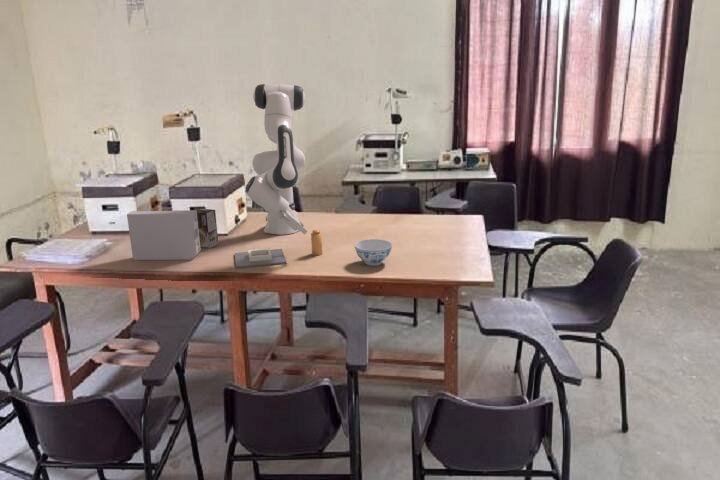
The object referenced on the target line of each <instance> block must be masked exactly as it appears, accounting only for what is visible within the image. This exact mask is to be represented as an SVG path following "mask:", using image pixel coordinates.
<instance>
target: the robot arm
mask: <svg viewBox="0 0 720 480" xmlns="http://www.w3.org/2000/svg"><path fill="white" fill-rule="evenodd" d="M252 94H253V96H252V97H253V102H254V104H255V106H256V107H257V108H258V109H262V110H264V122H263V125H264V131H265V134H266V135H267V137H268V139H269V141H270V142H272V143H274V144H275V145H277V150H267V151H262V152H260V153H257V154H255V155H254V156H253V158H252V163H251V164H252V168H253V171H255V173H256V174H257V175H256V176H255V175H253V176H252V177H251V178H250V179H249V181H248V182H247V184H246V186H245V193H246V195H247V196H248V197H249V198H250V199H251V201H253V202H254V203H255V204H257V205H258V206H259V207H261V208H263V209H264V211H265V212H266V213H267V216H265V222H266V225H265V227H264V229H263V233H264V234H265V233H266V234H271V235H277V236H278V235H282V236H283V235H290V234H295V233H297V232H301V233H302V234H303V235H306V234H307V233H308V230H307V229H306V228H305V225H304V223H303V222H302V221H300V218H299V214H298V213H299V212H298V211H296V210H295V209H296V206H295V201H294V192H293V191H294V190H293V187H294V186H295V185H296V183H297V182H298V179H299V173H298V171H301V170H302V169H304V167H305V165H306V156H305V154H304V153H303V151H302V150H301V149H299V147H298V146H297V145H296V144H295V142H294V138H293V113H292V111H294V112H296V111H298V110H301V109H302V108H303V106H304V105H305V102H306V95H305V91H304V89H303V88H302V86H299V85H296V84H295V85H292V84H286V83H285V84H284V83H279V84H278V83H277V84H276V83H274V84H271V83H269V84H265V83H263V84H262V83H261V84H258V85H256V86H255V89H254V90H253V93H252Z"/></svg>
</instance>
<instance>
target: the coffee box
mask: <svg viewBox="0 0 720 480" xmlns="http://www.w3.org/2000/svg"><path fill="white" fill-rule="evenodd" d="M195 210H196V211H197V220H198V230H199V240H200V248H209V249H211V248H213V247H215V246H218V245H219V237H218V224H217V215H216V209H208V208H200V207H199V208H197V209H195Z"/></svg>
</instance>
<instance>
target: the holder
mask: <svg viewBox="0 0 720 480" xmlns="http://www.w3.org/2000/svg"><path fill="white" fill-rule="evenodd" d="M234 260H235V267H236V269H242V268H243V269H244V268H253V267H264V266H276V265H277V266H278V265H287V264H288V263H287V258H286V257H285V254H284V251H283V249H282V248H277V249H270V248H262V249H261V248H259V249H250V250H249V249H248V250H247V251H243V252H241V251H240V252H234Z"/></svg>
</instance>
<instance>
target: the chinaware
mask: <svg viewBox="0 0 720 480" xmlns="http://www.w3.org/2000/svg"><path fill="white" fill-rule="evenodd" d="M392 248H393V244H392V242H390V241H389V240H385V239H379V238H378V239H377V238H375V239H373V238H372V239H363V240H359V241H357V242H355V243H354V249H355V252H356V254H357V256H358V258H360V259H361V261H363V262H364V263H365V264H366V265H367V266H371V265H372V267H373V266H380V265H381V264H382V263H383V261H384V260H385V261H386V259H387V258H388V257H389V256H390V254H391V251H392Z"/></svg>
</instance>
